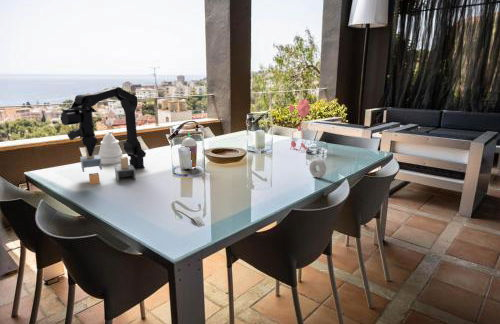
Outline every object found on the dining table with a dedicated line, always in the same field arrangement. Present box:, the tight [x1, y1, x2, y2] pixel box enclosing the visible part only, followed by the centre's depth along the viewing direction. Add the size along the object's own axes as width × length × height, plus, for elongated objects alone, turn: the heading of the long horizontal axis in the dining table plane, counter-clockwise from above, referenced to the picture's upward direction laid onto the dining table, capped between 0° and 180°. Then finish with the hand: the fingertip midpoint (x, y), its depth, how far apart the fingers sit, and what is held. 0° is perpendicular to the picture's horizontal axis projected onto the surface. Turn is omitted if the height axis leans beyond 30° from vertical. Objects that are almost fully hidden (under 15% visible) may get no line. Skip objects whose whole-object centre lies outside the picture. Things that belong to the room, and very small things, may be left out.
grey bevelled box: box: [114, 156, 137, 182], centre depth 166 cm, size 8×8×10 cm
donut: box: [308, 157, 327, 179], centre depth 171 cm, size 10×4×10 cm, turn 38°
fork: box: [175, 207, 206, 228], centre depth 124 cm, size 3×21×3 cm, turn 37°
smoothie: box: [181, 132, 198, 168], centre depth 183 cm, size 8×8×20 cm
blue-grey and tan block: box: [80, 147, 103, 173], centre depth 162 cm, size 8×8×10 cm
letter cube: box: [88, 172, 100, 185], centre depth 161 cm, size 4×4×4 cm
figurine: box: [288, 98, 316, 152], centre depth 232 cm, size 15×26×35 cm, turn 34°
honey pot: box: [98, 130, 123, 165], centre depth 198 cm, size 13×13×18 cm
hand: (90, 155), depth 161 cm, fingers closed on blue-grey and tan block, 3 cm apart
